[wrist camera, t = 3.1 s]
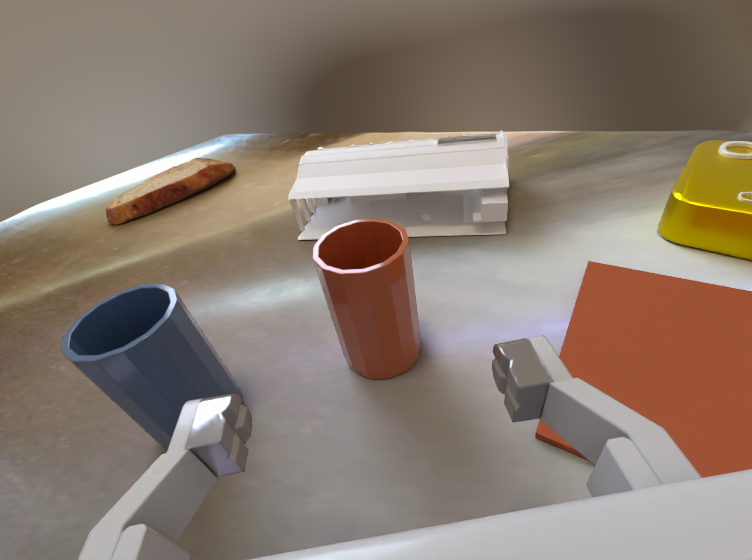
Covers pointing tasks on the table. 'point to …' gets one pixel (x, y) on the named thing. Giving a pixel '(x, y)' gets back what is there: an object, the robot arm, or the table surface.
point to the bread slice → (167, 189)
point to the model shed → (407, 186)
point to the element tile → (713, 200)
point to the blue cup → (147, 356)
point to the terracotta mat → (667, 359)
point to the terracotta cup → (370, 295)
